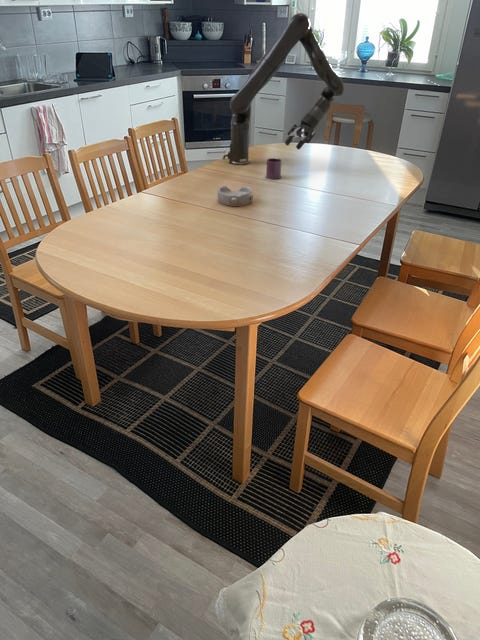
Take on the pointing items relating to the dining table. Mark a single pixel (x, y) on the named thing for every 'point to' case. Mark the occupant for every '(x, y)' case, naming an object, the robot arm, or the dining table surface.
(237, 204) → the dish
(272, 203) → the dining table surface
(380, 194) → the dining table surface
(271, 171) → the cup
